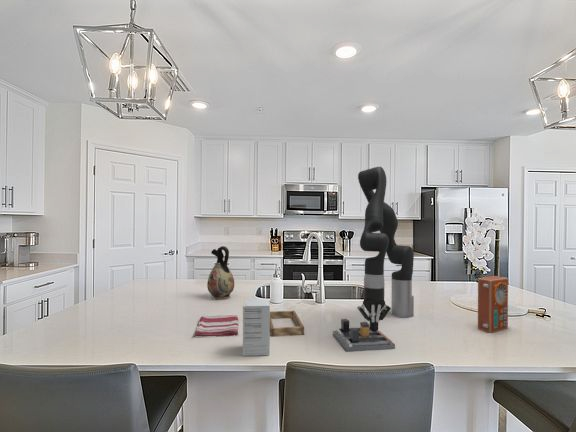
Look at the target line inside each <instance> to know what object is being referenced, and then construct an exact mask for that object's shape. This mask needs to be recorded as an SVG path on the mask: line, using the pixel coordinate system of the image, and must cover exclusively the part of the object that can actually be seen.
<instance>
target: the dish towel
mask: <svg viewBox="0 0 576 432" xmlns="http://www.w3.org/2000/svg"><path fill="white" fill-rule="evenodd" d="M238 330H239V317H238V315H236V314H232V315H214V316H213V315H211V316H210V315H209V316H208V315H201V316H200V318H199V321H198V324H197V326H196V330H195V331H194V337H195V336H216V337H233V336H234V335H235V336H238V334H239V331H238ZM235 336H234V337H235Z"/></svg>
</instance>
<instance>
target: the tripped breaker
mask: <svg viewBox="0 0 576 432" xmlns="http://www.w3.org/2000/svg"><path fill="white" fill-rule="evenodd" d="M359 325H360V326H359V327H360V336H369V327H370V323H368V322H367V321H360V322H359Z"/></svg>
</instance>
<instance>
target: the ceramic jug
mask: <svg viewBox="0 0 576 432" xmlns="http://www.w3.org/2000/svg"><path fill="white" fill-rule="evenodd" d="M223 251H224V253H223ZM210 253H211V255H213V256H215V257H216V263H215V264H214V266H213V267H212V269H211V271H210V273H209V275H208V278H207V283H206V285H207V291H208V292H209V294H211V296H212V297H213V299H214V298H215V299H214V300H226V299H229V298H231V294H232V292H233V291H234V289H235V278H234V275H233V273H232V271H231V270H230V268H229V267H228V262H229V258H230V257H229V256H230V250H229V248H228V247H227V246H224V245H223V246H222V245H221V246H219V247H218V248H217V249H216V248H214V249H212V250H211V252H210Z"/></svg>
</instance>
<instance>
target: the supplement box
mask: <svg viewBox="0 0 576 432" xmlns="http://www.w3.org/2000/svg"><path fill="white" fill-rule="evenodd" d="M270 305H271V304H270V299H268V298H267V299H264V298H263V299H244V301H243V306H242V356H243V357H249V356H250V357H251V356H255V357H256V356H257V357H258V356H260V357H261V356H270V353H271V352H270V344H271V343H270V341H271V339H270V338H271V337H270V335H271V333H270V312H271V309H270V308H271V307H270Z"/></svg>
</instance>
